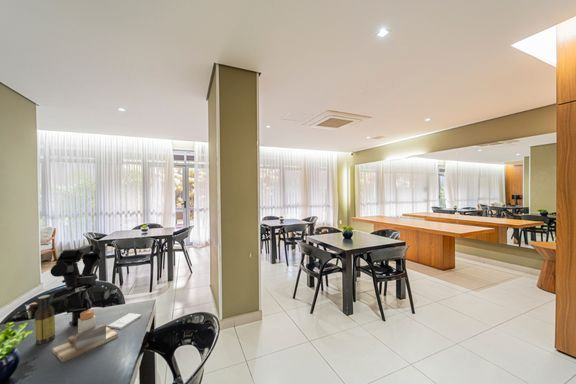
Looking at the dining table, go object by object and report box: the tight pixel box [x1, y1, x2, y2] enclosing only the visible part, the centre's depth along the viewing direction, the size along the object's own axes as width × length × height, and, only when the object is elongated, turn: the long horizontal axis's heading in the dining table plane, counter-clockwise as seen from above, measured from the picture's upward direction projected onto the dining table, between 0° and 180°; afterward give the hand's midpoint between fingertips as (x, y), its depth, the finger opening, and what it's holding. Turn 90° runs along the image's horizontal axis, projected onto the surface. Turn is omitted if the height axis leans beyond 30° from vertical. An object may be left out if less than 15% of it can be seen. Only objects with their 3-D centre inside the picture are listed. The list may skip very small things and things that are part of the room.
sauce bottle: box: [34, 294, 56, 345], centre depth 105 cm, size 6×6×20 cm
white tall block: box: [77, 309, 97, 334], centre depth 103 cm, size 5×5×12 cm
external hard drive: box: [106, 312, 143, 330], centre depth 121 cm, size 2×8×12 cm
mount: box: [52, 323, 119, 363], centre depth 103 cm, size 12×19×8 cm, turn 149°
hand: (81, 307), depth 109 cm, fingers closed
